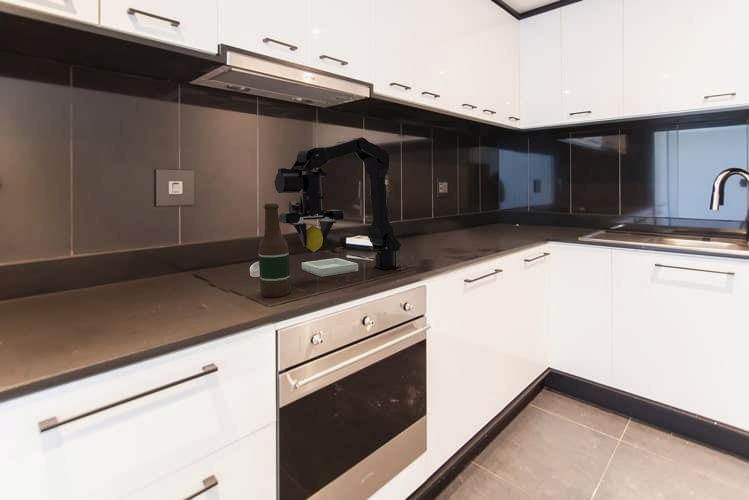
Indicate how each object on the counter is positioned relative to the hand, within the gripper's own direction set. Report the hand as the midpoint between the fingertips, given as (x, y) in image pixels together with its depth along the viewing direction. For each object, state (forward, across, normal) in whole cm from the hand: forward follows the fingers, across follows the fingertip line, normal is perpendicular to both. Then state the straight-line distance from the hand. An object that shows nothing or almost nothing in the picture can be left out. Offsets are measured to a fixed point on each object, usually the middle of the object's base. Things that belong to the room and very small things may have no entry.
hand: (313, 245), depth 121 cm
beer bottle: (+11, +15, +7) cm, 20 cm away
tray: (+11, -11, -11) cm, 19 cm away
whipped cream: (+11, +10, -19) cm, 24 cm away
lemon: (+2, 0, 0) cm, 2 cm away
